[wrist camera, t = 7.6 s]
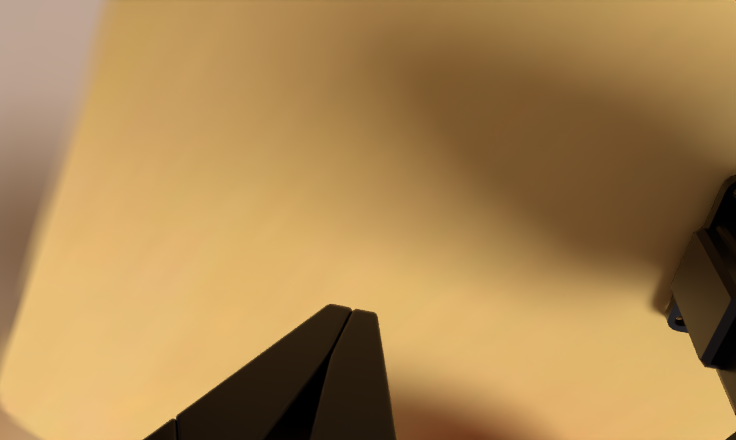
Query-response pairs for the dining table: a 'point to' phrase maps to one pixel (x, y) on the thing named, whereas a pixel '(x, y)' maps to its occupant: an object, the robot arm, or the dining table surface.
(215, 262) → the dining table surface
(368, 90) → the dining table surface
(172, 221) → the dining table surface
